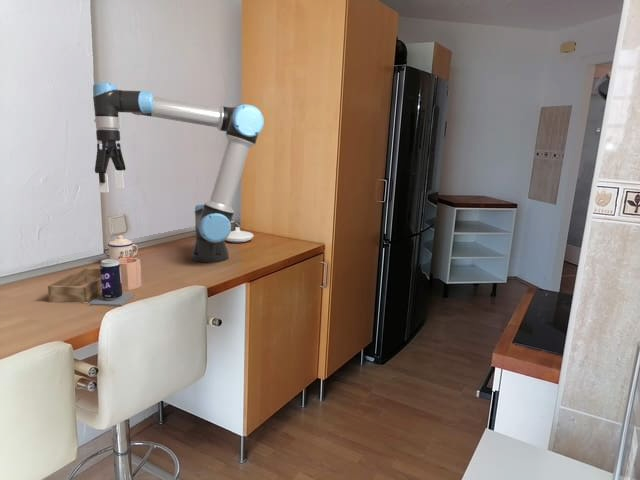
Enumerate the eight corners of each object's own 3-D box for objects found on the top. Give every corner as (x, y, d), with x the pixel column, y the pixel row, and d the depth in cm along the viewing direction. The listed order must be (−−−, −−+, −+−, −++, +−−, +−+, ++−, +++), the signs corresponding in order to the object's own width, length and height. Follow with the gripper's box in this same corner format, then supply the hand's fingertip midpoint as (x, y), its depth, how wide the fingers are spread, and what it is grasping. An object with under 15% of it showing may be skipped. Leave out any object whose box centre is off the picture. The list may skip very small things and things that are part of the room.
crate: (117, 282, 161) (116, 269, 160) (87, 303, 141) (85, 287, 140) (84, 281, 162) (82, 268, 161) (49, 302, 141) (47, 286, 140)
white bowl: (255, 238, 240) (255, 224, 239) (251, 245, 225) (251, 230, 223) (224, 237, 240) (224, 224, 238) (219, 244, 224) (218, 230, 223)
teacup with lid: (119, 268, 178) (117, 239, 176) (104, 265, 183) (102, 236, 181) (145, 262, 188) (143, 234, 186) (130, 259, 193) (129, 231, 191)
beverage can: (105, 295, 147) (102, 258, 144) (124, 294, 148) (122, 258, 145) (100, 301, 141) (97, 263, 139) (119, 300, 142) (116, 262, 140)
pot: (144, 283, 162) (142, 258, 160) (135, 290, 154) (133, 264, 152) (121, 282, 162) (119, 257, 160) (111, 289, 154) (109, 263, 152)
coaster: (134, 295, 149) (134, 293, 149) (121, 306, 140) (121, 304, 139) (104, 294, 149) (103, 292, 149) (88, 305, 140) (88, 303, 140)
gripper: (111, 129, 175) (116, 186, 179) (79, 128, 151) (85, 193, 155) (131, 130, 175) (135, 186, 180) (103, 129, 151) (108, 194, 155)
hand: (112, 190), depth 167 cm, fingers open, 13 cm apart
